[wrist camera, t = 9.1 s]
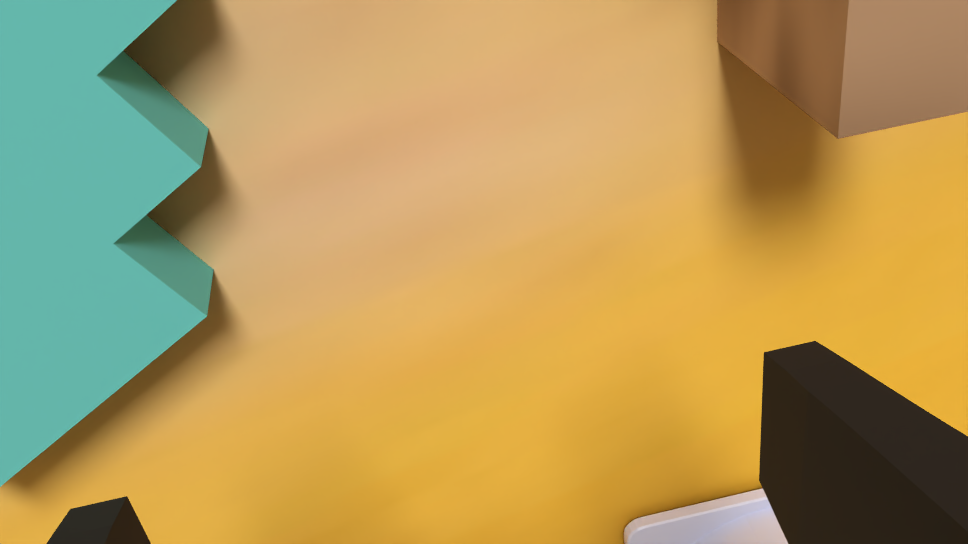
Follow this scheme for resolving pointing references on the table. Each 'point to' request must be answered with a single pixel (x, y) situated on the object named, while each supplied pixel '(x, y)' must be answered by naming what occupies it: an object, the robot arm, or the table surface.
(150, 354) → the alien figure
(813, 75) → the slat
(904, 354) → the table surface
